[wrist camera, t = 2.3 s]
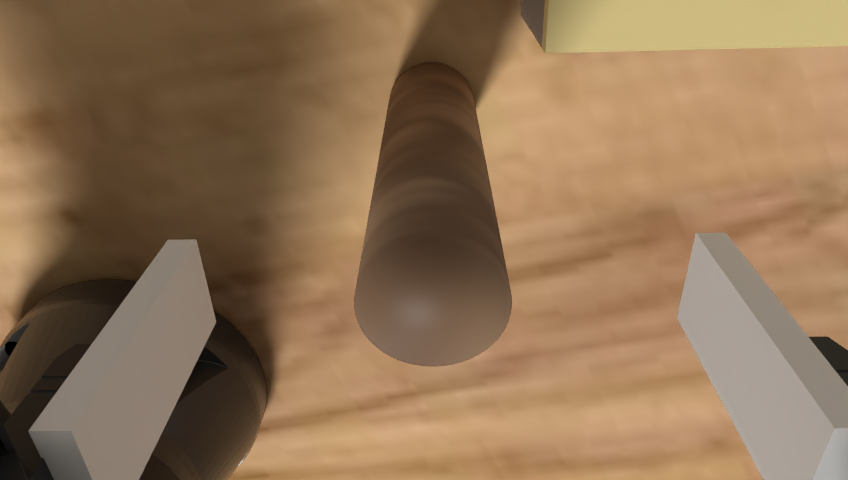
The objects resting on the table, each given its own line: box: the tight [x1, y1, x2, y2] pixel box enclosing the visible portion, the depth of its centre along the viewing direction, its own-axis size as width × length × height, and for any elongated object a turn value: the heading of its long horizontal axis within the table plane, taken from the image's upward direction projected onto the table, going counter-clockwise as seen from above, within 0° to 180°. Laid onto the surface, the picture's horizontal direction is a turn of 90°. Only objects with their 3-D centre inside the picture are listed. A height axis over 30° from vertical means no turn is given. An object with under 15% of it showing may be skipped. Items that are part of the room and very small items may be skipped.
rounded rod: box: [354, 62, 512, 366], centre depth 23 cm, size 4×4×16 cm
